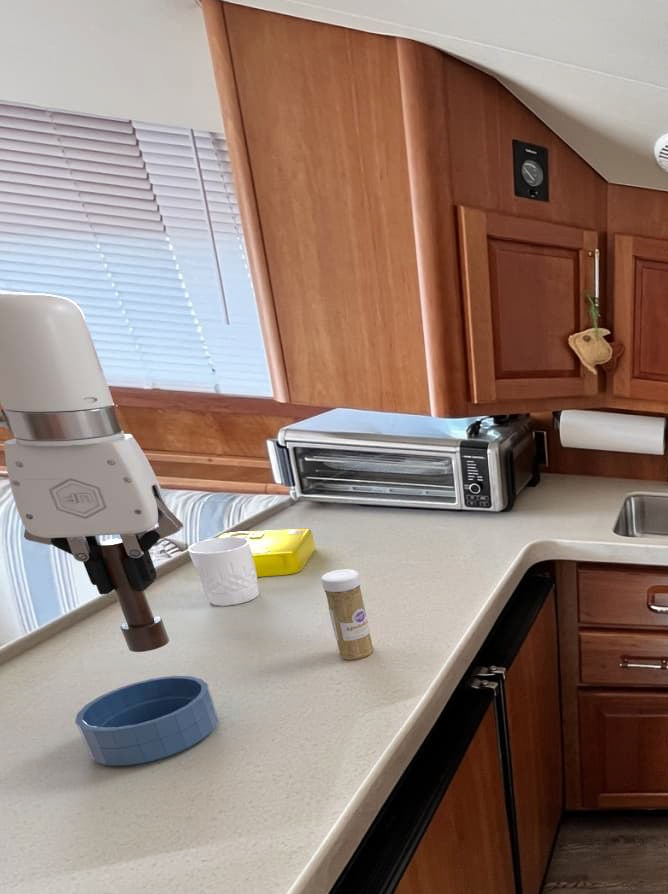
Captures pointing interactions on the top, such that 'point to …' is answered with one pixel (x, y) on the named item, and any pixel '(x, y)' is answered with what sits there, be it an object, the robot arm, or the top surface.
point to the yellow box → (278, 550)
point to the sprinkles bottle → (347, 613)
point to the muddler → (132, 602)
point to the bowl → (147, 720)
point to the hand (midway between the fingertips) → (127, 586)
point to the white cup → (225, 570)
